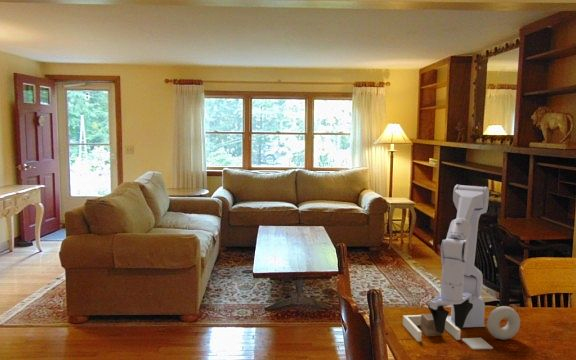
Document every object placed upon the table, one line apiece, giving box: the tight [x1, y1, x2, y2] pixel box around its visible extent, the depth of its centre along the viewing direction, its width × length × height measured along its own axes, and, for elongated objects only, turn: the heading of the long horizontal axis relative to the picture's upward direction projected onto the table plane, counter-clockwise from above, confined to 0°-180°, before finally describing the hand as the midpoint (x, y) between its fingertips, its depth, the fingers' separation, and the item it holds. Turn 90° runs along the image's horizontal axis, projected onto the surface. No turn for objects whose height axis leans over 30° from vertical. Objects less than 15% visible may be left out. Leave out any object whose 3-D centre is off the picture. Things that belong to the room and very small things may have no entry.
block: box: [420, 313, 442, 337], centre depth 136 cm, size 4×4×5 cm
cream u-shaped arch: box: [402, 314, 462, 343], centre depth 136 cm, size 13×12×3 cm
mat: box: [461, 337, 494, 350], centre depth 129 cm, size 6×6×1 cm
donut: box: [486, 305, 521, 341], centre depth 132 cm, size 10×4×10 cm, turn 98°
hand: (449, 329), depth 125 cm, fingers open, 7 cm apart
